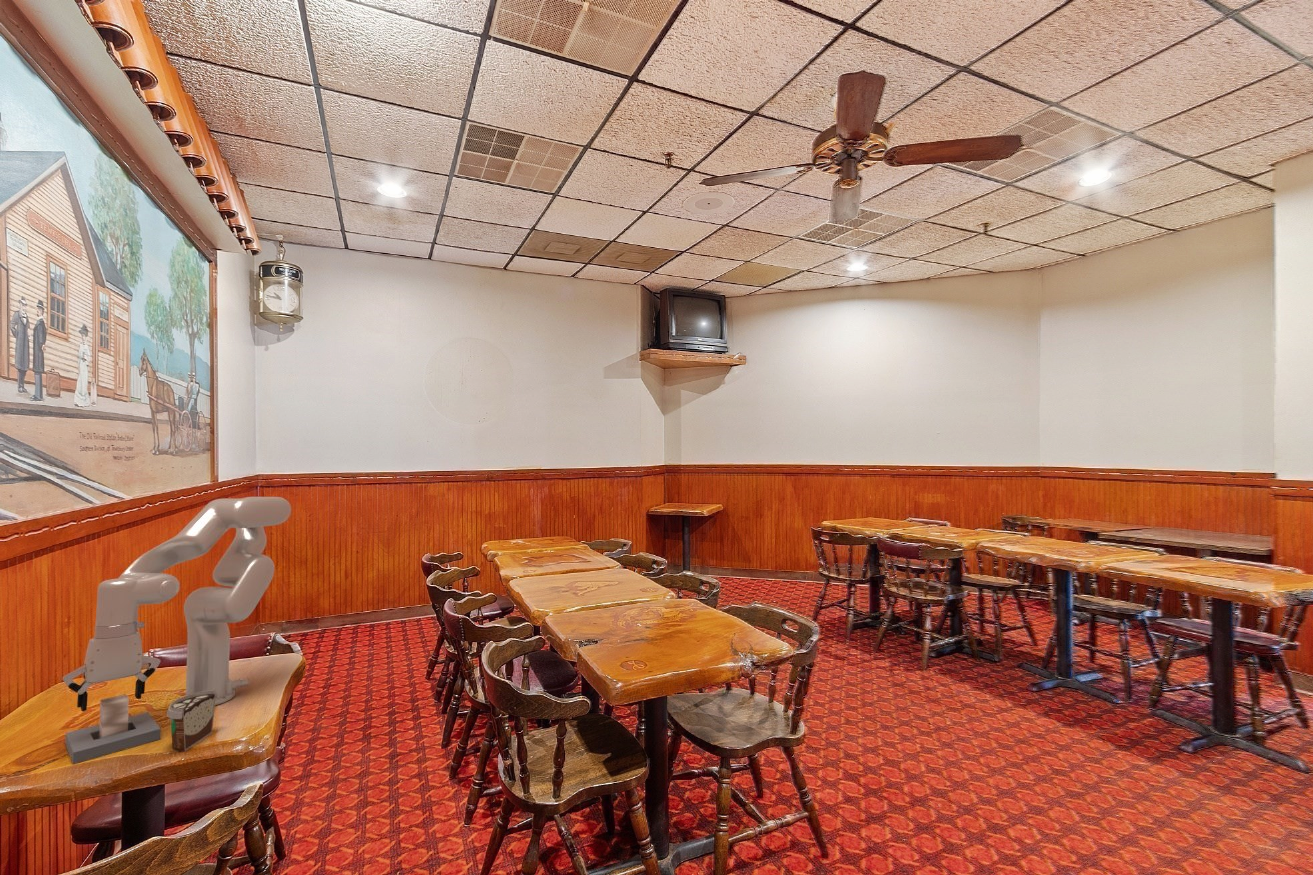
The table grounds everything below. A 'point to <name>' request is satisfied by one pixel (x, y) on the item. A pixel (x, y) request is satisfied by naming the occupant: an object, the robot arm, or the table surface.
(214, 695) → the food container
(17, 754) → the table surface
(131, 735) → the charcoal pocket board
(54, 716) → the table surface
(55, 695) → the table surface
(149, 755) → the table surface
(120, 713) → the off-white block
